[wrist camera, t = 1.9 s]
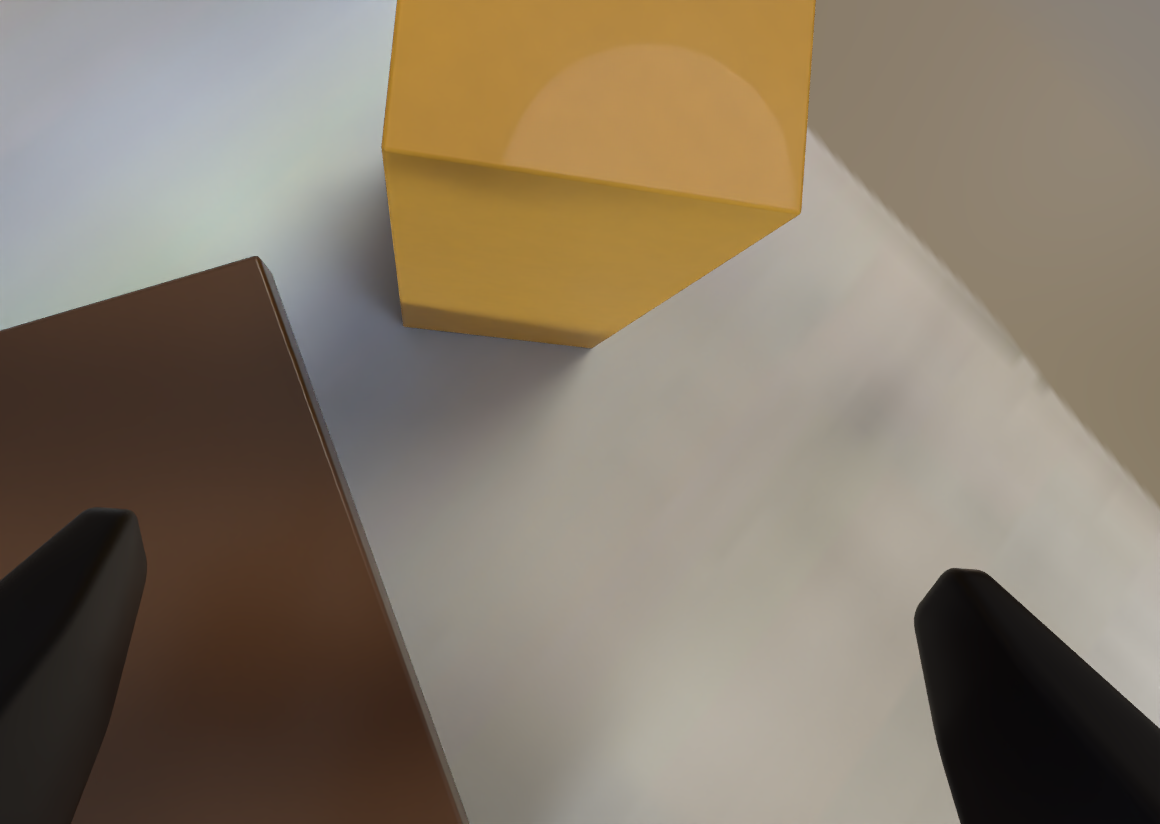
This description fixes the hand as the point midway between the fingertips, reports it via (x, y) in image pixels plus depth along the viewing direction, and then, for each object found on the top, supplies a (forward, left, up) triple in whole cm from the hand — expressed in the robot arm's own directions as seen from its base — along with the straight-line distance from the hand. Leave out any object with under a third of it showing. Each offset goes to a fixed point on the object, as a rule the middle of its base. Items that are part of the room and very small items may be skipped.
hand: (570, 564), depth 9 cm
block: (+6, -3, -13) cm, 14 cm away
